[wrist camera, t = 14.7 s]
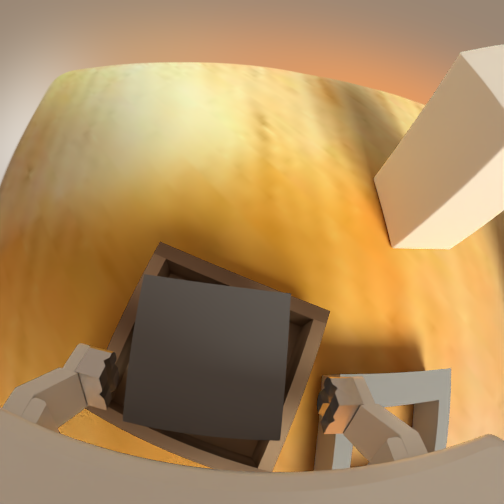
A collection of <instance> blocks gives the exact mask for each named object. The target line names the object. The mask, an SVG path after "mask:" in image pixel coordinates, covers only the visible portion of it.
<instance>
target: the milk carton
mask: <svg viewBox="0 0 504 504" xmlns="http://www.w3.org/2000/svg"><path fill="white" fill-rule="evenodd" d="M374 182H375V186H376V189H377V192H378V196H379V199H380V203H381V207H382V210H383V214H384V218H385V222H386V226H387V230H388V234H389V238H390V242H391V246H392V248H413V249H451V248H452V247H454V246H455V245H457V244H458V243H459V242H461V241H462V240H464V239H465V238H467V237H468V236H469V235H471V234H472V233H474V232H475V231H477V230H478V229H479V228H481V227H482V226H483V225H485V224H486V223H487V222H489V221H490V220H492V219H493V218H494V217H496V216H497V215H498V214H499V213H501V212H502V211H503V210H504V44H503V45H497V46H491V47H485V48H479V49H474V50H469V51H465V52H461V53H460V54H459V56H458V57H457V59H456V61H455V62H454V64H453V65H452V67H451V68H450V70H449V71H448V73H447V74H446V76H445V77H444V79H443V80H442V82H441V83H440V85H439V87H438V88H437V90H436V91H435V92H434V94H433V96H432V97H431V98H430V100H429V101H428V103H427V104H426V106H425V107H424V109H423V110H422V112H421V113H420V114H419V116H418V117H417V119H416V120H415V122H414V123H413V124H412V126H411V127H410V129H409V130H408V131H407V133H406V134H405V136H404V137H403V139H402V140H401V141H400V143H399V144H398V145H397V147H396V148H395V150H394V151H393V152H392V154H391V155H390V156H389V158H388V159H387V161H386V162H385V163H384V165H383V166H382V167H381V169H380V170H379V171H378V173H377V174H376V175H375V177H374Z"/></svg>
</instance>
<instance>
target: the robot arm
mask: <svg viewBox="0 0 504 504" xmlns="http://www.w3.org/2000/svg"><path fill="white" fill-rule="evenodd" d="M116 360H117V358H116V353H115V352H113V351H109V350H106V349H102V348H98V347H94V346H89V345H86V344H83V343H80V344H78V345H77V346H76V348H75V349H74V351H73V353H72V354H71V356H70V357H69V359H68V360H67V362H66V363H65V365H64V367H63V368H60V367H59V368H57V369H55V370H53V371H51V372H48V373H46V374H44V375H42V376H40V377H38V378H36V379H33V380H31V381H29V382H27V383H25V384H23V385H20V386H18V387H16V388H15V389H14V390H13V392H12V393H11V395H10V396H9V398H8V399H7V401H6V403H5V404H4V406H3V407H2V408H1V407H0V504H504V441H503V440H502V439H500V438H498V437H497V436H494V435H492V434H487V435H483V436H481V437H478V438H475V439H472V440H469V441H467V442H464V443H461V444H458V445H454V446H451V447H448V448H445V449H441V450H438V451H434V452H430V453H428V452H427V450H426V447H425V445H424V443H423V441H422V439H421V437H420V435H419V433H418V432H417V431H416V430H414V429H413V428H411V427H410V426H409V425H407V424H406V423H404V422H403V421H402V420H400V419H399V418H397V417H396V416H395V415H393V414H392V413H390V412H389V411H388V410H386V409H385V408H384V407H382V406H381V405H379V404H375V402H374V399H373V397H372V395H371V393H370V390H369V388H368V386H367V384H366V381H365V379H364V378H363V377H362V376H360V377H327V378H326V379H325V381H324V389H323V390H321V391H320V393H319V395H318V400H317V409H318V413H319V414H320V415H321V416H322V419H321V421H320V422H321V426H322V430H323V433H324V434H343V433H344V434H343V435H344V436H345V437H346V438H347V439H348V440H349V441H350V442H351V443H352V444H353V445H354V446H355V447H356V449H357V450H358V451H359V452H360V453H361V454H362V455H363V456H364V457H365V458H366V459H367V460H368V461H369V463H368V464H367V465H366V466H360V467H352V468H343V469H333V470H321V471H304V472H247V471H230V470H218V469H208V468H200V467H192V466H185V465H178V464H172V463H166V462H161V461H156V460H151V459H146V458H141V457H137V456H132V455H128V454H124V453H120V452H116V451H113V450H109V449H105V448H102V447H99V446H95V445H92V444H89V443H86V442H83V441H80V440H77V439H74V438H71V437H68V436H65V435H63V434H60V432H59V430H58V427H60V426H61V425H63V424H64V423H65V422H67V421H68V420H69V419H71V418H72V417H74V416H75V415H76V414H78V413H79V412H80V411H82V410H83V409H84V408H86V407H87V405H88V406H92V407H96V408H100V409H104V410H107V409H108V407H109V404H110V402H111V399H112V396H111V392H113V391H114V390H115V389H116V387H117V384H118V379H119V371H118V367H117V366H116V365H115V362H116Z"/></svg>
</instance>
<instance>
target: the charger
mask: <svg viewBox="0 0 504 504" xmlns="http://www.w3.org/2000/svg"><path fill="white" fill-rule="evenodd" d="M290 299H291V294H290V293H281V292H273V291H264V290H256V289H248V288H240V287H232V286H224V285H217V284H209V283H202V282H195V281H187V280H180V279H174V278H167V277H160V276H153V275H147V274H144V277H143V282H142V287H141V292H140V297H139V303H138V308H137V314H136V319H135V325H134V331H133V338H132V344H131V351H130V358H129V365H128V373H127V381H126V390H125V400H124V410H123V421H124V422H128V423H132V424H137V425H142V426H146V427H151V428H157V429H162V430H168V431H174V432H180V433H187V434H194V435H202V436H211V437H221V438H232V439H247V440H272V441H280V437H281V426H282V415H283V404H284V392H285V379H286V365H287V351H288V335H289V318H290Z"/></svg>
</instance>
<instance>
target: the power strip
mask: <svg viewBox="0 0 504 504" xmlns="http://www.w3.org/2000/svg"><path fill="white" fill-rule="evenodd" d="M360 376H362V377H363V378H364V379H365V381H366V384H367V386H368V388H369V390H370V393H371V395H372V397H373V399H374V402H375V404H379V405H381V406H382V407H391V406H399V405H408V404H414V412H413V425H412V428H413V429H414V430H416V431H417V432H418V433H419V435H420V437H421V439H422V441H423V443H424V445H425V447H426V450H427V452H428V453H430V452H434V451H438V450H441V449H445V448H446V443H447V434H448V424H449V412H450V394H451V368H449V369H440V370H429V371H417V372H402V373H381V374H336V375H322V384H321V390H323V389H324V381H325V379H326V378H327V377H360ZM321 419H322V416H321V415H320V414H319V424H318V435H317V445H316V454H315V463H314V471H321V470H333V469H343V468H350V463H351V455H352V447H353V444H352V443H351V442H350V441H349V440H348V439H347V438H346V437H345V436H344V435H343V434H344V433H343V434H324V433H323V430H322V426H321V422H320V421H321Z"/></svg>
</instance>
